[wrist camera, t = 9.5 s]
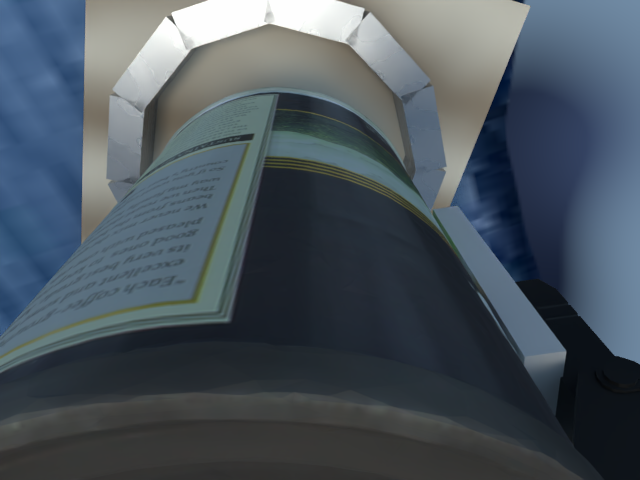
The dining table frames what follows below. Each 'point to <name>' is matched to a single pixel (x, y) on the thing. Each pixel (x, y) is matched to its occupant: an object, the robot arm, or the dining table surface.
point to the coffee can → (271, 324)
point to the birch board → (302, 74)
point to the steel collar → (248, 13)
